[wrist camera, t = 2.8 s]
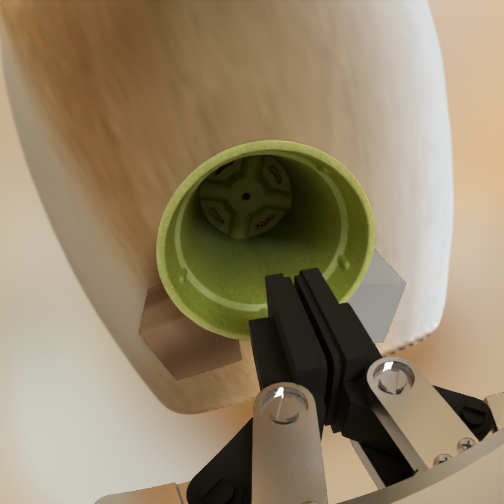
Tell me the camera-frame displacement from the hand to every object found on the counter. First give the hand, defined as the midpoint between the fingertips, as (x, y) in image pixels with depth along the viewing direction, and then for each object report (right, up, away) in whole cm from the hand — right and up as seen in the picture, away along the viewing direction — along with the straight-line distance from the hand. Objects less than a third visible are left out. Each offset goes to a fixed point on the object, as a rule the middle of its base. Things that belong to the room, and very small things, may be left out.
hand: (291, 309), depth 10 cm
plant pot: (-2, +6, +11) cm, 12 cm away
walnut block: (-6, -2, +14) cm, 15 cm away
